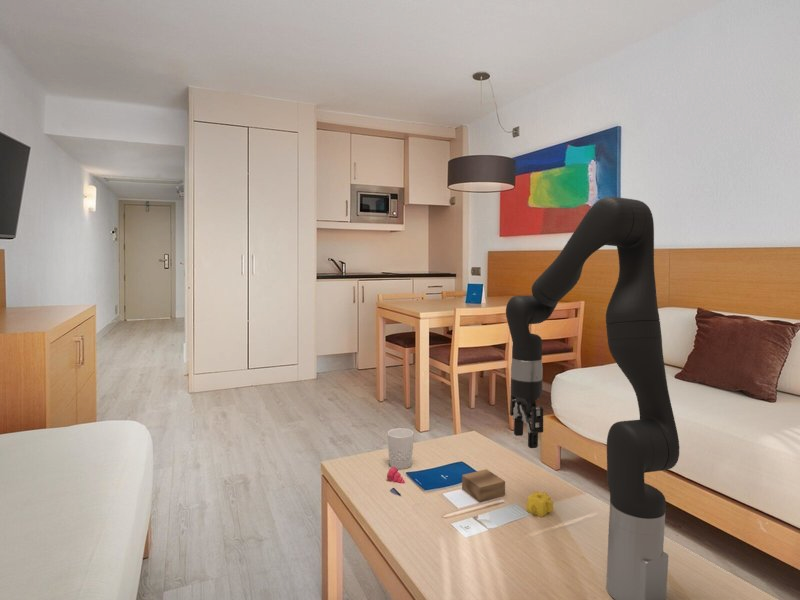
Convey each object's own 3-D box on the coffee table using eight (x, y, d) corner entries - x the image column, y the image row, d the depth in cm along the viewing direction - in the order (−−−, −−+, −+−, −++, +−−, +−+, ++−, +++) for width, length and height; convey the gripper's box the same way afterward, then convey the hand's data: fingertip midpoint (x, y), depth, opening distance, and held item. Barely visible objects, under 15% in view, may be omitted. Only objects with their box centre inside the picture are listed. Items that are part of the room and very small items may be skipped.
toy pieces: (377, 493, 130) (377, 477, 129) (392, 475, 140) (392, 461, 140) (420, 501, 126) (420, 485, 125) (432, 482, 136) (432, 467, 136)
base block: (504, 496, 126) (505, 481, 126) (479, 502, 122) (479, 487, 122) (486, 483, 133) (486, 469, 133) (462, 489, 130) (462, 474, 129)
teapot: (545, 526, 114) (545, 505, 113) (522, 517, 117) (522, 497, 117) (558, 512, 120) (559, 492, 119) (536, 505, 123) (537, 485, 123)
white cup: (407, 457, 152) (407, 426, 151) (417, 467, 145) (417, 435, 144) (384, 461, 149) (384, 429, 148) (392, 471, 142) (392, 438, 141)
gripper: (554, 383, 112) (553, 451, 113) (528, 369, 126) (527, 430, 127) (524, 384, 111) (522, 453, 112) (501, 370, 125) (500, 432, 126)
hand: (525, 441), depth 119 cm, fingers open, 8 cm apart
